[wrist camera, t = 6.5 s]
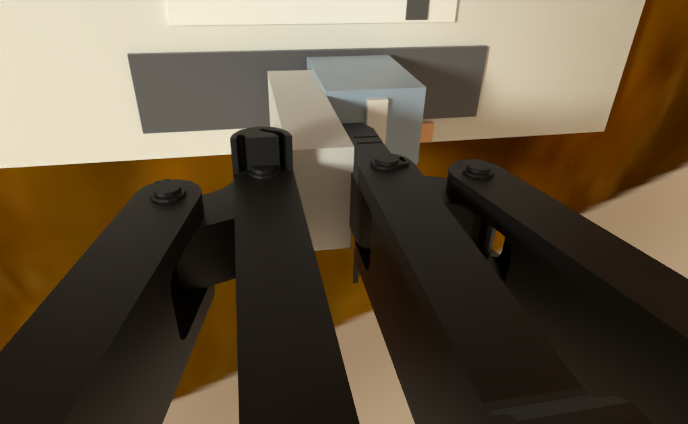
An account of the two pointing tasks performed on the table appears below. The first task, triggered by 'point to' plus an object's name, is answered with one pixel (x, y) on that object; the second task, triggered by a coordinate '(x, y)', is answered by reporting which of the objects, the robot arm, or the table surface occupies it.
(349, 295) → the table surface
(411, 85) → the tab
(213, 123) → the switch board
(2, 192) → the table surface
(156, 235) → the robot arm
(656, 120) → the table surface
